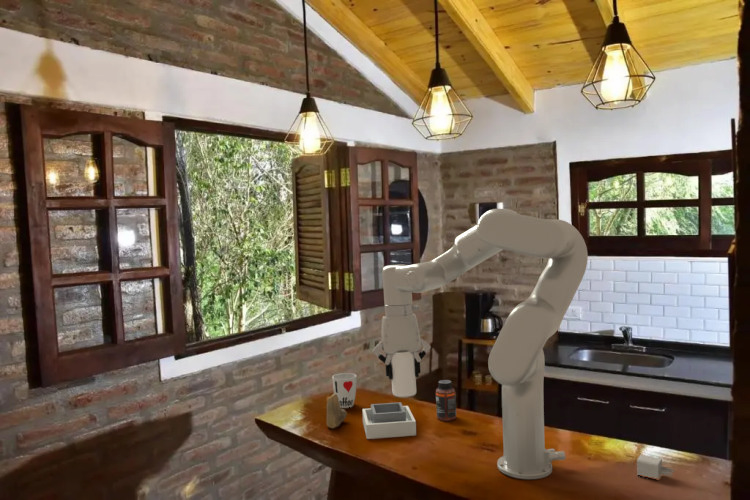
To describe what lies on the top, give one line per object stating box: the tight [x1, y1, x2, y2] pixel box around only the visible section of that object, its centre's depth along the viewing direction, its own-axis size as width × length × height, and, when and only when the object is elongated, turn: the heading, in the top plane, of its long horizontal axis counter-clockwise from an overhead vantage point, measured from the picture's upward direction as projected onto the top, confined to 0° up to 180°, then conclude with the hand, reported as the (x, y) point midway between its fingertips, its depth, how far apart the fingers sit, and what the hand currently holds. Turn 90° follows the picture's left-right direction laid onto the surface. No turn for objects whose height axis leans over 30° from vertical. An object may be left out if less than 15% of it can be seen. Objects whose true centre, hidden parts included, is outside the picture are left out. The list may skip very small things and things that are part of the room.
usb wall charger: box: [636, 454, 675, 478], centre depth 122 cm, size 4×7×4 cm, turn 50°
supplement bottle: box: [435, 379, 457, 422], centre depth 166 cm, size 6×6×11 cm
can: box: [390, 351, 417, 399], centre depth 146 cm, size 6×6×12 cm
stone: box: [326, 393, 348, 429], centre depth 164 cm, size 9×5×10 cm, turn 155°
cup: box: [331, 372, 357, 409], centre depth 182 cm, size 8×8×10 cm
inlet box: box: [362, 401, 417, 440], centre depth 160 cm, size 14×14×6 cm
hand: (403, 376), depth 146 cm, fingers closed on can, 6 cm apart
